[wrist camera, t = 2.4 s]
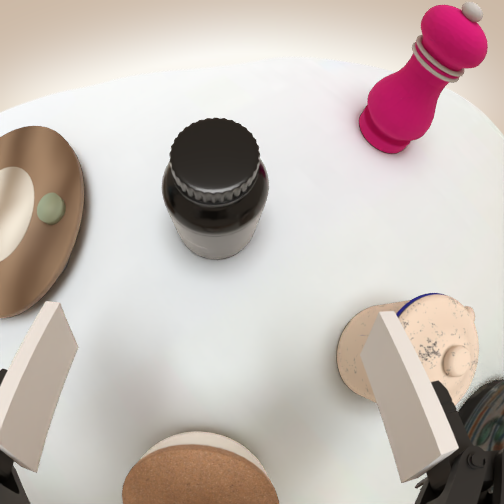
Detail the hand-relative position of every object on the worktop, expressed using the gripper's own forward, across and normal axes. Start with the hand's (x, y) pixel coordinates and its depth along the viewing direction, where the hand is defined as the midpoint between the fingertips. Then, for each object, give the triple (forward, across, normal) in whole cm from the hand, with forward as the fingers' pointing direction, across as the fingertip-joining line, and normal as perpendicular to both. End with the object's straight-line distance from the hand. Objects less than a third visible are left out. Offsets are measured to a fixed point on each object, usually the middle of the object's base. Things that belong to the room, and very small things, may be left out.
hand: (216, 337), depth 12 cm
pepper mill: (+25, +17, +5) cm, 31 cm away
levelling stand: (+16, -23, -3) cm, 28 cm away
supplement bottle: (+16, -1, -3) cm, 17 cm away
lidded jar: (+1, -2, -19) cm, 19 cm away
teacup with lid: (+8, +15, -11) cm, 21 cm away
